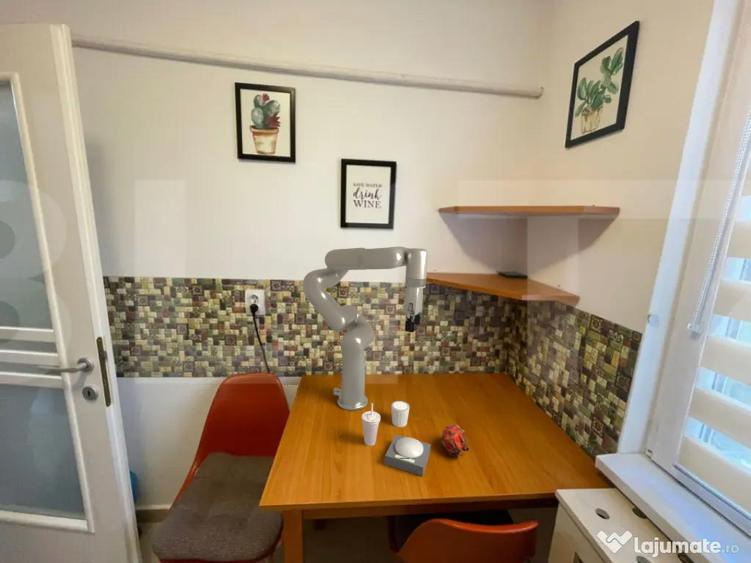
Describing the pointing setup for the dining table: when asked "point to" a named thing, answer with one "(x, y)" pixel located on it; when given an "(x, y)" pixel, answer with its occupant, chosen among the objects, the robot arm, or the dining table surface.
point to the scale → (408, 454)
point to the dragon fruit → (454, 440)
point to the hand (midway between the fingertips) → (412, 328)
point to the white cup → (400, 413)
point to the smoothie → (370, 426)
